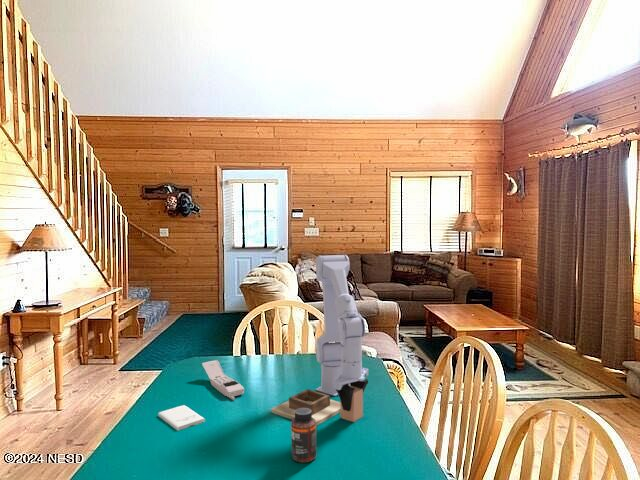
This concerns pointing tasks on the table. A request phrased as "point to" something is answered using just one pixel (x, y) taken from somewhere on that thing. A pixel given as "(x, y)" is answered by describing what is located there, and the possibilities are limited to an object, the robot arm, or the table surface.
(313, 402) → the socket board
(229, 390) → the mobile phone
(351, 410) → the square peg
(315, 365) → the table surface
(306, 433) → the supplement bottle
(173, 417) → the external hard drive
